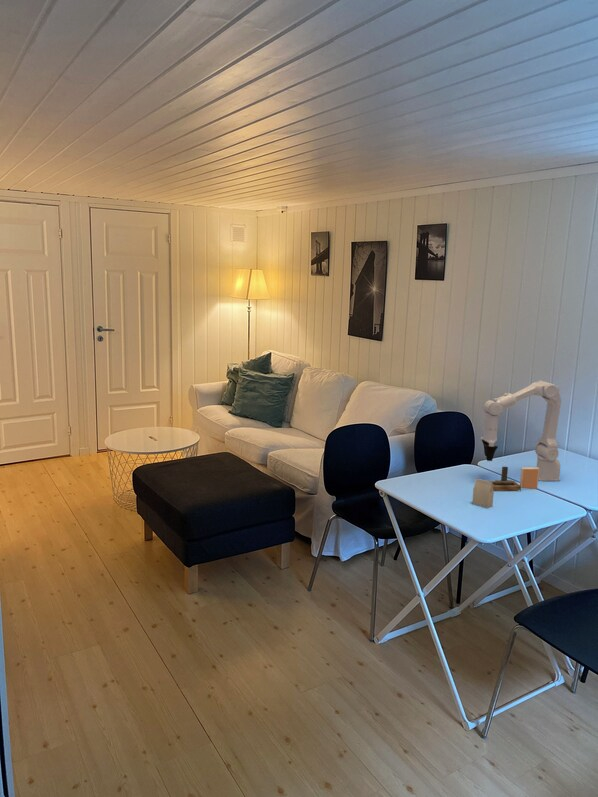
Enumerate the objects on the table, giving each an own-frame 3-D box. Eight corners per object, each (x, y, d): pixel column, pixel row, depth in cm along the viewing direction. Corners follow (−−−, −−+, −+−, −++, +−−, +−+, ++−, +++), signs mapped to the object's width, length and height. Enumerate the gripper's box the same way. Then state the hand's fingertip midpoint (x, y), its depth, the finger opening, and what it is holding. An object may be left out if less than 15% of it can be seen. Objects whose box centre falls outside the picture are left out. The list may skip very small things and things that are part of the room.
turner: (510, 487, 264) (512, 466, 262) (511, 488, 262) (513, 467, 261) (494, 487, 263) (496, 466, 261) (495, 488, 262) (497, 467, 260)
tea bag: (487, 508, 239) (489, 483, 237) (472, 503, 244) (474, 479, 242) (492, 505, 242) (494, 481, 240) (477, 501, 247) (478, 477, 245)
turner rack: (513, 485, 267) (514, 480, 266) (520, 491, 260) (521, 486, 259) (486, 485, 266) (486, 481, 265) (492, 491, 259) (492, 486, 258)
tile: (535, 487, 264) (537, 467, 263) (537, 488, 263) (539, 468, 261) (519, 487, 264) (521, 467, 262) (521, 489, 262) (523, 468, 260)
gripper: (479, 423, 276) (477, 453, 279) (482, 431, 262) (480, 462, 265) (495, 424, 275) (493, 454, 277) (500, 432, 261) (497, 463, 263)
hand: (488, 458), depth 271 cm, fingers open, 7 cm apart
